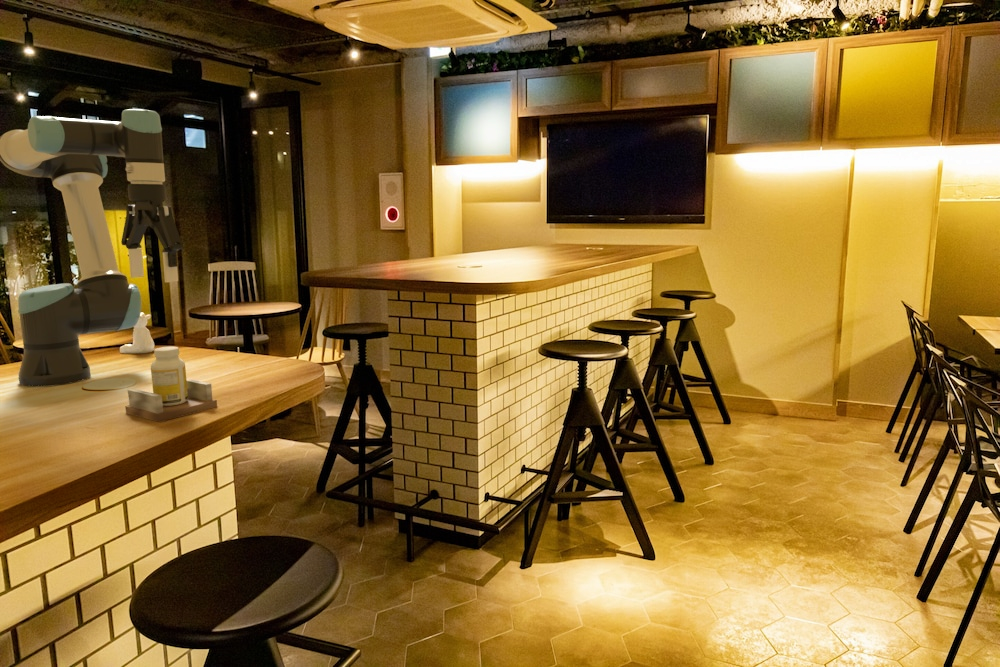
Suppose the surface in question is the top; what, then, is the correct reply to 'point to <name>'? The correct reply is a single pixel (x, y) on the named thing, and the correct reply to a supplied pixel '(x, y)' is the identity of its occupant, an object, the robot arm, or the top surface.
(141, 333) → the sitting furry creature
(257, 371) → the top surface
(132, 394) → the slot cradle
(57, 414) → the top surface
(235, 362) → the top surface
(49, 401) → the top surface
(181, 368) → the pill bottle
